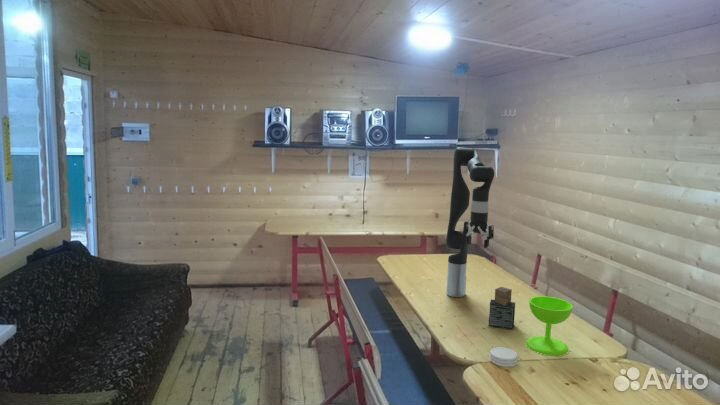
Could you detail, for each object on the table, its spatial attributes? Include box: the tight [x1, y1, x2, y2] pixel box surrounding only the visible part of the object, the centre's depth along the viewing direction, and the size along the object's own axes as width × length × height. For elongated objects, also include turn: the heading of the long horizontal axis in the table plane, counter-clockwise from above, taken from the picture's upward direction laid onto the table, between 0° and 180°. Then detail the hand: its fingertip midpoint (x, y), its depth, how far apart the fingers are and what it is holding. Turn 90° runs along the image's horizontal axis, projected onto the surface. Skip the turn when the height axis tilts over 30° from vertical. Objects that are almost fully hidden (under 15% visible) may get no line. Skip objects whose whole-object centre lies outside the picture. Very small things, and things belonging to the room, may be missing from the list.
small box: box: [488, 299, 516, 331], centre depth 216 cm, size 11×6×10 cm, turn 70°
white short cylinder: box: [489, 346, 519, 368], centre depth 183 cm, size 10×10×4 cm
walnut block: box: [494, 286, 513, 305], centre depth 214 cm, size 5×5×6 cm
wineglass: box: [525, 295, 574, 357], centre depth 195 cm, size 16×16×18 cm
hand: (477, 245), depth 224 cm, fingers open, 8 cm apart
